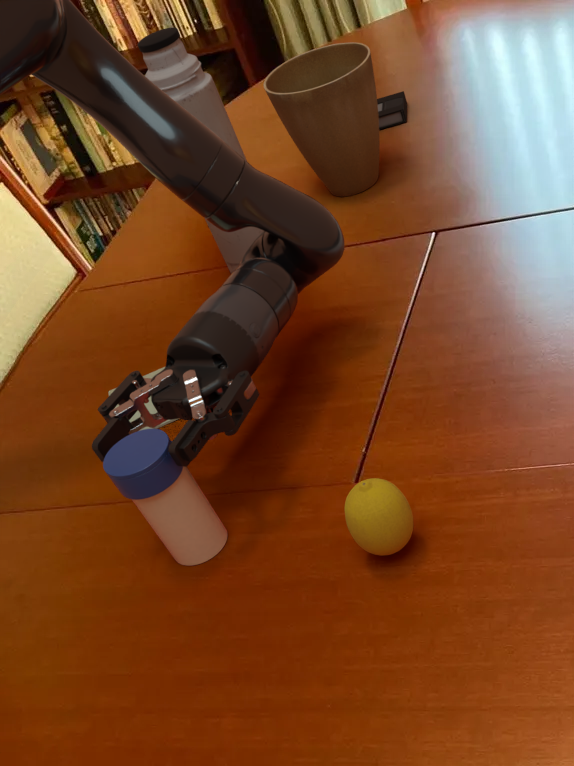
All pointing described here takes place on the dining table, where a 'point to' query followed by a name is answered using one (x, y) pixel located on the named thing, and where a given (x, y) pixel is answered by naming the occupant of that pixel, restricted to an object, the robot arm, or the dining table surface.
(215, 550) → the jar
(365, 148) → the plant pot
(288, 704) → the dining table surface
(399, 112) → the vhs tape
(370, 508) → the lemon
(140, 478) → the lid
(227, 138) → the thermos bottle
